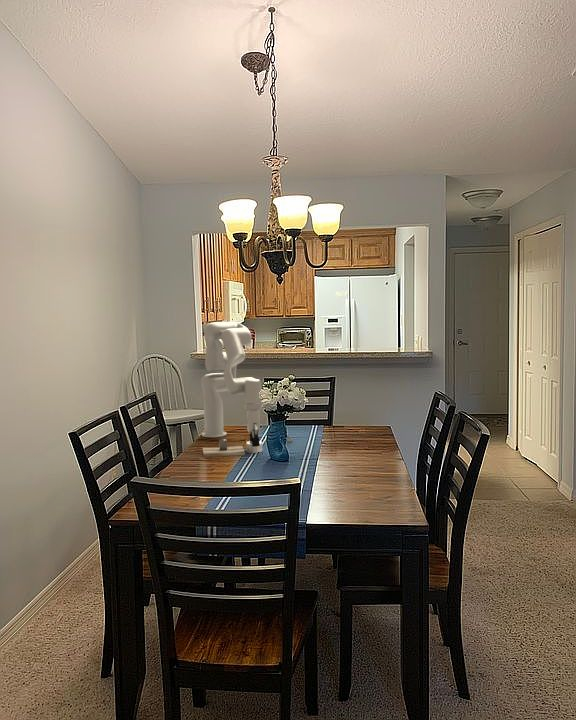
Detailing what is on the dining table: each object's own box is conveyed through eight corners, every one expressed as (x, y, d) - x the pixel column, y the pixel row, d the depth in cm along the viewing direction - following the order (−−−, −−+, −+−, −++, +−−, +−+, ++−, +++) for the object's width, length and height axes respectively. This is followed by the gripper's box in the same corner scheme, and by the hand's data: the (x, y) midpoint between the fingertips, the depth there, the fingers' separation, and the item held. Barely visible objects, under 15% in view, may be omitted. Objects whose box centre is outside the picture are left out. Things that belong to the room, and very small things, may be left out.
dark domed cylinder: (219, 449, 295) (219, 439, 294) (226, 448, 295) (226, 438, 295) (219, 450, 291) (219, 440, 291) (227, 450, 292) (227, 440, 291)
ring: (246, 450, 298) (245, 441, 298) (261, 449, 300) (261, 440, 299) (247, 453, 291) (247, 444, 291) (263, 452, 293) (263, 443, 292)
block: (202, 451, 298) (202, 448, 298) (242, 449, 301) (242, 445, 300) (203, 457, 286) (203, 453, 286) (244, 454, 289) (244, 451, 289)
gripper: (243, 404, 302) (244, 441, 303) (247, 409, 285) (248, 448, 286) (259, 403, 303) (260, 440, 304) (264, 408, 286) (265, 447, 287)
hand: (254, 444), depth 295 cm, fingers open, 9 cm apart
